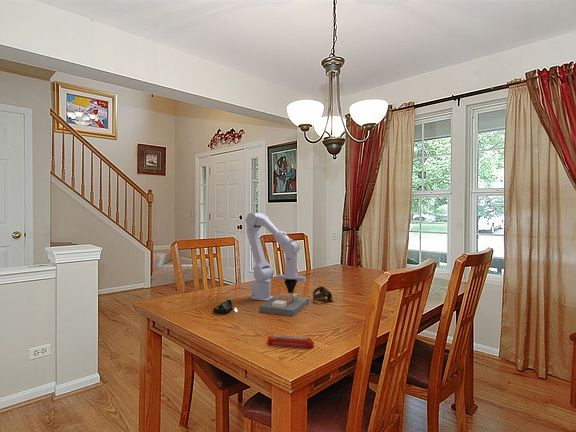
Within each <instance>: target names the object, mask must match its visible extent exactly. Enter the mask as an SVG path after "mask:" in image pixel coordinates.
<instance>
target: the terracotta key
mask: <svg viewBox="0 0 576 432" xmlns="http://www.w3.org/2000/svg"><path fill="white" fill-rule="evenodd" d="M278 295H279V297H278V300H281V301H287V304H290V303H291V302H292V293H288V292H286V291H283V292H280V293H279V294H278Z"/></svg>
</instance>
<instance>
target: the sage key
mask: <svg viewBox="0 0 576 432" xmlns="http://www.w3.org/2000/svg"><path fill="white" fill-rule="evenodd" d="M297 297H298V294H297V293H293V295H292V300H294V301H295V300H296V299H297Z"/></svg>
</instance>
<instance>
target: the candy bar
mask: <svg viewBox="0 0 576 432" xmlns="http://www.w3.org/2000/svg"><path fill="white" fill-rule="evenodd" d="M266 342H267V344H270V345H271V346H278V347H279V346H280V347H281V346H282V347H290V348H291V347H292V348H299V349H300V348H301V349H310V348H313V347H314V346H315V342H314V341H313V340H312V338H311V337H308V336H295V335H284V334H271V336H268V337H267V340H266Z"/></svg>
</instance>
